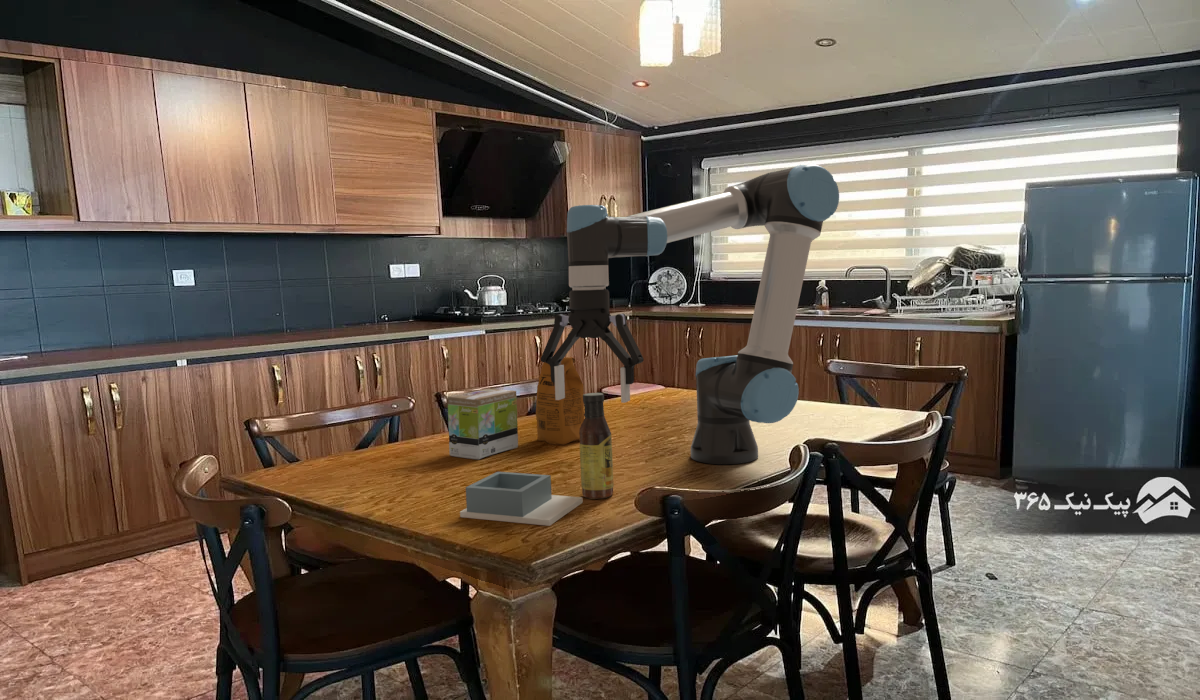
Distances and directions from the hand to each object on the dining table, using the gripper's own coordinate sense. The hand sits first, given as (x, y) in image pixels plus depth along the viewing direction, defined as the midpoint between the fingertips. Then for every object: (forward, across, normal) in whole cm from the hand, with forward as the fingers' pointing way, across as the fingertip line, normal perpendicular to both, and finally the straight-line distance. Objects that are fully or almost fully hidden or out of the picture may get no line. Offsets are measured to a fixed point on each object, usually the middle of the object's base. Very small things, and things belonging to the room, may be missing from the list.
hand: (592, 400), depth 151 cm
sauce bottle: (+19, 0, 0) cm, 19 cm away
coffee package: (+19, +29, -44) cm, 56 cm away
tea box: (+19, +42, -28) cm, 54 cm away
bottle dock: (+19, +10, +12) cm, 24 cm away
